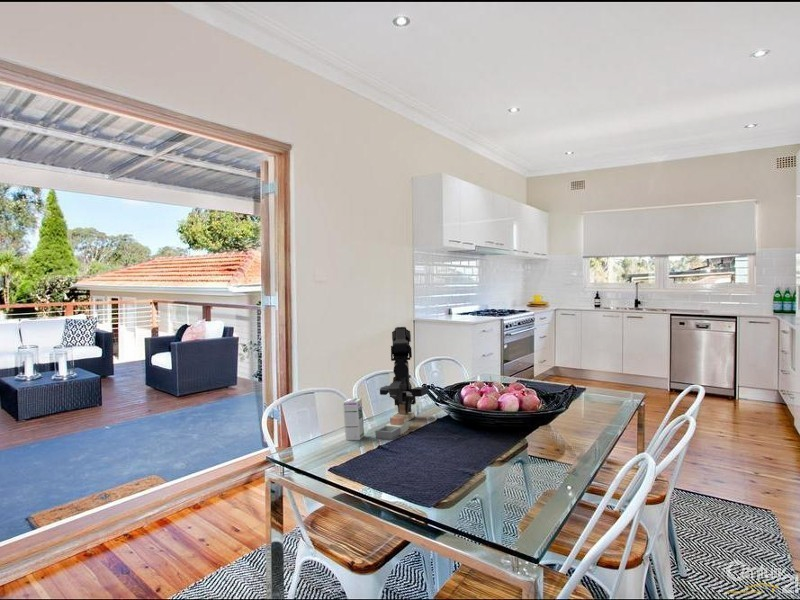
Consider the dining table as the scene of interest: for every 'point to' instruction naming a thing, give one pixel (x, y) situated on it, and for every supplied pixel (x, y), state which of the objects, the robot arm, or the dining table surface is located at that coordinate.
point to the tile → (396, 420)
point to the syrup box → (353, 419)
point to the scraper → (404, 412)
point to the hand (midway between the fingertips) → (404, 412)
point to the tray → (387, 433)
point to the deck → (402, 427)
